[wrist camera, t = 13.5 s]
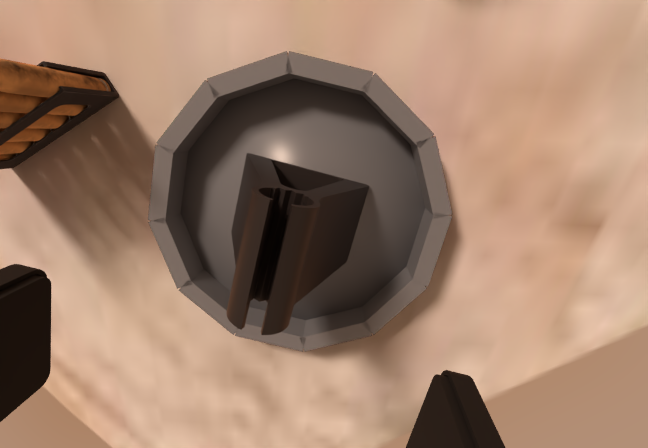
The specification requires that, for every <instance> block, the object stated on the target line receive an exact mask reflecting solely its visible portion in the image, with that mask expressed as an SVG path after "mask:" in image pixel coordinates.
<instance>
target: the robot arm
mask: <svg viewBox="0 0 648 448" xmlns="http://www.w3.org/2000/svg"><path fill="white" fill-rule="evenodd" d="M50 358H51V281H50V280H49V279H48V278H47V275H46V273H45V272H44V271H42V270H40V269H36V268H31V267H27V266H23V265H19V264H14V265H10V266H7V267H5V268H3V269H0V422H1V421H2V420H3V419H4V418H6V417H7V416H8V415H9V414H10V413H11V412H12V411H14V410H15V409H16V408H17V407H18V406H20V405H21V404H22V403H23V402H24V401H25V400H26V399H28V398H29V397H30V396H31V395H33V394H34V393H35V392H36V391H37V390H38V389H40V388H41V387H42V386H43V385H44V383H45V382H46V380H47V379H48V377H49V374H50ZM406 448H505V446H504V444H503V442H502V440H501V438H500V435H499V433H498V431H497V429H496V427H495V425H494V423H493V421H492V419H491V417H490V414H489V413H488V410H487V408H486V406H485V404H484V402H483V400H482V398H481V396H480V393H479V391H478V389H477V387H476V385H475V383H474V381H473V379H472V378H471V377H470V376H468V375H464V374H460V373H456V372H452V371H448V370H445V371H443V373H442V374H441V375H435V376H434V377H433V379H432V382H431V384H430V387H429V389H428V392H427V395H426V397H425V400H424V402H423V405H422V407H421V410H420V413H419V415H418V418H417V420H416V423H415V425H414V428H413V431H412V433H411V436H410V438H409V441H408V444H407V446H406Z"/></svg>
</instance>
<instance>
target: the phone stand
mask: <svg viewBox="0 0 648 448" xmlns="http://www.w3.org/2000/svg"><path fill="white" fill-rule="evenodd" d="M368 189H369V185H366V184H363V183H359V182H355V181H352V180H348V179H344V178H340V177H337V176H333V175H329V174H325V173H322V172H318V171H314V170H309V169H306V168H303V167H299V166H296V165H292V164H288V163H284V162H281V161H277V160H273V159H270V158H266V157H262V156H258V155H255V154H251V153H247V154H246V159H245V165H244V170H243V175H242V180H241V185H240V190H239V195H238V200H237V205H236V210H235V215H234V220H233V225H232V230H231V234H232V241H233V249H234V257H235V264H236V269H235V273H234V278H233V283H232V288H231V293H230V298H229V302H228V307H227V318H228V320H229V321H230V322H231V323H232V324H233V325H234V326H235V327H237V328H238V329H240V330H241V329H243V328H244V327H245V323H246V318H247V314H248V309H249V305H250V301H251V300H253V299H255V300H257V301H259V302H261V301H266V302H267V303H268V304H267V308H266V312H265V316H264V320H263V325H262V329H261V335H273V334H277V333H280V332H282V331H284V330H285V329H286V328H287V327H288V325H289V322H290V319H291V315H292V311H293V307H294V305H295V304H296V303H297V302H298V301H300V300H301V299H302V298H303V297H304V296H306V295H307V294H308V293H309V292H311V291H312V290H313V289H314V288H315V287H317V286H318V285H319V284H320V283H322V282H323V281H324V280H325V279H327V278H328V277H329V276H330V275H331V274H333V273H334V272H335V271H336V270H338V269H339V268H340V267H341V266H342V265H344V264H345V263H346V262H347V260H348V256H349V253H350V250H351V246H352V243H353V239H354V236H355V233H356V229H357V226H358V223H359V219H360V216H361V213H362V209H363V206H364V203H365V199H366V196H367V193H368Z"/></svg>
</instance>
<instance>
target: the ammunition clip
mask: <svg viewBox="0 0 648 448" xmlns="http://www.w3.org/2000/svg"><path fill="white" fill-rule="evenodd" d="M118 97H119V95H118V93H117V92H116V90H115V89H114V87H113V86H112V84H111V83H110V81H109V79H108V78H107V76H106V75H105V73H103V72H98V71H92V70H87V69H82V68H77V67H71V66H66V65H61V64H55V63H50V62H45V61H43V62H41V63H40V64H38V65H37V66H35V65H30V64H25V63H20V62H15V61H10V60H5V59H0V169H6V168H14V167H15V166H17V165H18V164H20V163H21V162H23V161H24V160H26V159H27V158H29V157H30V156H32V155H33V154H35V153H36V152H38V151H39V150H41V149H42V148H44V147H45V146H47V145H48V144H50V143H51V142H53V141H54V140H55V139H57V138H58V137H60V136H61V135H63V134H64V133H66V132H67V131H69V130H70V129H72V128H73V127H75V126H76V125H78V124H79V123H81V122H82V121H84V120H85V119H87V118H88V117H90V116H91V115H93V114H94V113H96V112H97V111H99V110H100V109H102V108H103V107H105V106H106V105H108V104H109V103H111V102H112V101H113V100H115V99H116V98H118Z"/></svg>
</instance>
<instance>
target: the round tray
mask: <svg viewBox="0 0 648 448" xmlns="http://www.w3.org/2000/svg"><path fill="white" fill-rule="evenodd" d="M372 75H373V72H372V71H368V70H363V69H359V68H355V67H351V66H347V65H343V64H339V63H335V62H331V61H327V60H323V59H319V58H315V57H311V56H307V55H303V54H299V53H294V52H290V51H289V54H288V53H287V51H286V52H283V53H280V54H277V55H274V56H271V57H268V58H265V59H263V60H260V61H257V62H254V63H251V64H248V65H245V66H242V67H239V68H237V69H234V70H231V71H228V72H225V73H222V74H219V75H216V76H213V77H210V78H208V79H207V80H208V81H206V80H205V81H204V82H203V83H202V85H201V86H200V87H199V89H198V90H197V91H196V92H195V94H194V95H193V96H192V98H191V99H190V100H189V101H188V103H187V104H186V105H185V107H184V108H183V109H182V110H181V112H180V113H179V114H178V116H177V117H176V118H175V119H174V121H173V122H172V123H171V125H170V126H169V127H168V129H167V130H166V131H165V132H164V134H163V135H162V136H161V138H160V139H159V140H158V141H157V144H158V145H156V146H155V155H154V165H153V175H152V185H151V194H150V204H149V214H148V220H150V221H149V222H148V223H149V225H150V227H151V230H152V232H153V234H154V236H155V239H156V241H157V243H158V246H159V248H160V250H161V252H162V255H163V257H164V259H165V262H166V264H167V266H168V268H169V271H170V273H171V275H172V278H173V280H174V282H175V284H176V287H177V288H180V289H179V291H180V292H181V293H183V294H184V295H185V296H186V297H188V298H189V299H190V300H191V301H192V302H194V303H195V304H196V305H197V306H199V307H200V308H201V309H202V310H203V311H205V312H206V313H207V314H208V315H210V316H211V317H212V318H213V319H214V320H216V321H217V322H218V323H219V324H221V325H222V326H223V327H224V328H225V329H227V330H228V331H229V332H230V333H232V334H233V335H234V334H235V333H236V334H235V336H238V337H243V338H247V339H251V340H255V341H260V342H264V343H268V344H273V345H277V346H281V347H285V348H290V349H294V350H298V351H302V352H303V348H304V351H309V350H313V349H318V348H322V347H326V346H330V345H335V344H339V343H343V342H347V341H352V340H356V339H360V338H364V337H369V336H372V334H373V335H374V334H375V333H376V332H378V331H379V330H380V329H381V328H382V327H383V326H384V325H386V324H387V323H388V322H389V321H390V320H391V319H392V318H394V317H395V316H396V315H397V314H398V313H399V312H400V311H402V310H403V309H404V308H405V307H406V306H407V305H408V304H410V303H411V302H412V301H413V300H414V299H415V298H416V297H418V296H419V295H420V294H421V293H422V292H423V291H424V290H426V289H427V288H426V286H428V285H429V283H430V280H431V277H432V274H433V271H434V268H435V265H436V262H437V259H438V256H439V254H440V251H441V248H442V245H443V242H444V239H445V236H446V233H447V230H448V227H449V224H450V222H451V219H452V216H451V214H452V210H451V206H450V201H449V196H448V192H447V187H446V182H445V178H444V173H443V169H442V164H441V159H440V155H439V150H438V146H437V141H436V136H433V135H434V133H433V132H432V131H431V130H430V129H429V128H428V127H427V126H426V125H425V124H424V123H423V122H422V121H421V120H420V119H419V118H418V117H417V116H416V115H415V114H414V113H413V112H412V111H411V110H410V108H409V107H408V106H407V105H406V104H405V103H404V102H403V101H402V100H401V99H400V98H399V97H398V96H397V95H396V94H395V93H394V92H393V91H392V90H391V89H390V88H389V87H388V86H387V85H386V84H385V83H384V82H383V81H382V79H381V78H380V77H379V76H378V75H377V74H376V73H375V74H374V75H373V76H372ZM247 153H251V154H255V155H258V156H262V157H266V158H270V159H273V160H277V161H281V162H284V163H288V164H292V165H296V166H299V167H303V168H306V169H309V170H314V171H318V172H322V173H325V174H329V175H333V176H337V177H340V178H344V179H348V180H352V181H355V182H359V183H363V184H366V185H369V189H368V193H367V196H366V199H365V203H364V206H363V209H362V213H361V216H360V219H359V223H358V226H357V229H356V233H355V236H354V239H353V243H352V246H351V250H350V253H349V256H348V260H347V262H346V263H345V264H344V265H342V266H341V267H340V268H339V269H338V270H336V271H335V272H334V273H333V274H331V275H330V276H329V277H328V278H327V279H325V280H324V281H323V282H322V283H320V284H319V285H318V286H317V287H315V288H314V289H313V290H312V291H311V292H309V293H308V294H307V295H306V296H304V297H303V298H302V299H301V300H300V301H298V302H297V303H296V304H295V305H294V307H293V311H292V315H291V319H290V322H289V325H288V327H287V328H286V329H285V330H284V331H282V332H280V333H277V334H273V335H261V329H262V325H263V320H264V316H265V312H266V308H267V304H268V303H267V302H266V301H261V302H259V301H257V300H255V299H253V300H251V301H250V305H249V309H248V314H247V318H246V323H245V327H244V328H243V329H241V330H240V329H238V328H237V327H235V326H234V325H233V324H232V323H231V322H230V321H229V320H228V318H227V307H228V302H229V298H230V293H231V288H232V283H233V278H234V273H235V269H236V264H235V257H234V249H233V241H232V234H231V230H232V225H233V220H234V215H235V210H236V205H237V200H238V195H239V190H240V185H241V180H242V175H243V170H244V165H245V159H246V154H247Z"/></svg>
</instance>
